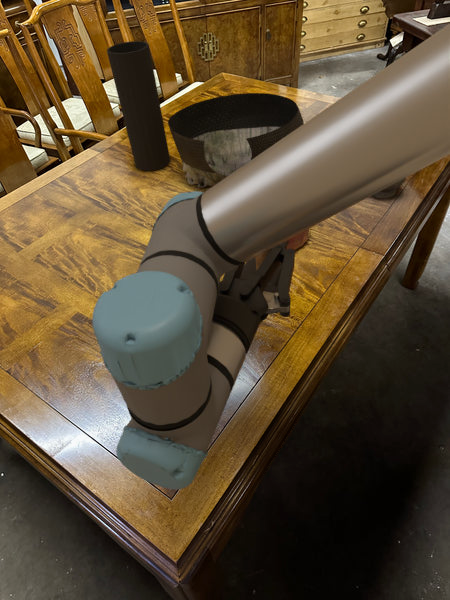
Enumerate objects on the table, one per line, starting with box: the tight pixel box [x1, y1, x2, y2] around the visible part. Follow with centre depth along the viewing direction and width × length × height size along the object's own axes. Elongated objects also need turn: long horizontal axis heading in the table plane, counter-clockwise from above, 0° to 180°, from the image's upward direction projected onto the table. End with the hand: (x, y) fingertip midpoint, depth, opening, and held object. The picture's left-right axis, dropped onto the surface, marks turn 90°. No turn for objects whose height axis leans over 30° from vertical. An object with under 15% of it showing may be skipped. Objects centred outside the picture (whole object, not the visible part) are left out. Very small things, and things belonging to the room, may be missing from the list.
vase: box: [106, 40, 171, 172], centre depth 112 cm, size 10×10×30 cm
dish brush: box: [240, 249, 283, 303], centre depth 58 cm, size 6×5×16 cm
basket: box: [167, 92, 305, 189], centre depth 108 cm, size 28×35×16 cm
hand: (275, 220), depth 61 cm, fingers closed on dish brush, 2 cm apart
